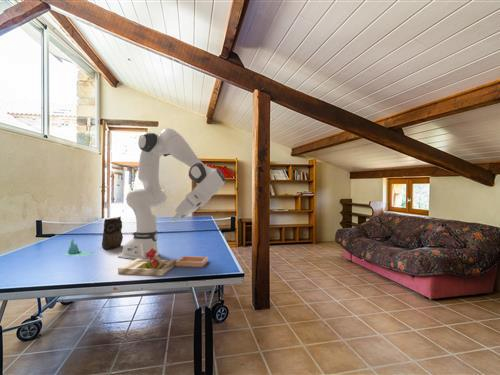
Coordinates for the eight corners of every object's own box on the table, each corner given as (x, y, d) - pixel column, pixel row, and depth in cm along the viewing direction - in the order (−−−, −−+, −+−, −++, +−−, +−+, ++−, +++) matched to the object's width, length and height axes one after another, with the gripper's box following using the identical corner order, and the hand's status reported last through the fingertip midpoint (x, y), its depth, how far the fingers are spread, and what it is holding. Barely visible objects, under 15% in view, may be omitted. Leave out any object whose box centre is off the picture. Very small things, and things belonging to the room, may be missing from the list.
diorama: (84, 258, 151) (85, 242, 151) (55, 255, 155) (56, 241, 155) (101, 252, 163) (101, 238, 163) (73, 250, 167) (73, 237, 167)
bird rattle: (159, 273, 131) (142, 265, 131) (168, 252, 131) (151, 245, 131) (155, 277, 125) (137, 269, 125) (164, 256, 125) (147, 248, 125)
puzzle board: (118, 273, 124) (118, 268, 124) (136, 263, 141) (137, 258, 141) (161, 275, 122) (161, 269, 122) (175, 265, 138) (175, 260, 138)
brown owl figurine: (122, 245, 183) (123, 216, 183) (122, 249, 172) (122, 218, 172) (101, 246, 178) (102, 216, 178) (99, 250, 166) (100, 218, 166)
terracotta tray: (175, 266, 136) (175, 261, 136) (183, 260, 147) (183, 256, 147) (202, 267, 134) (202, 262, 134) (207, 261, 145) (207, 257, 145)
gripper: (199, 192, 136) (181, 211, 137) (186, 193, 116) (164, 215, 117) (208, 201, 136) (189, 220, 137) (196, 204, 115) (174, 226, 116)
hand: (178, 218), depth 127 cm, fingers open, 8 cm apart
